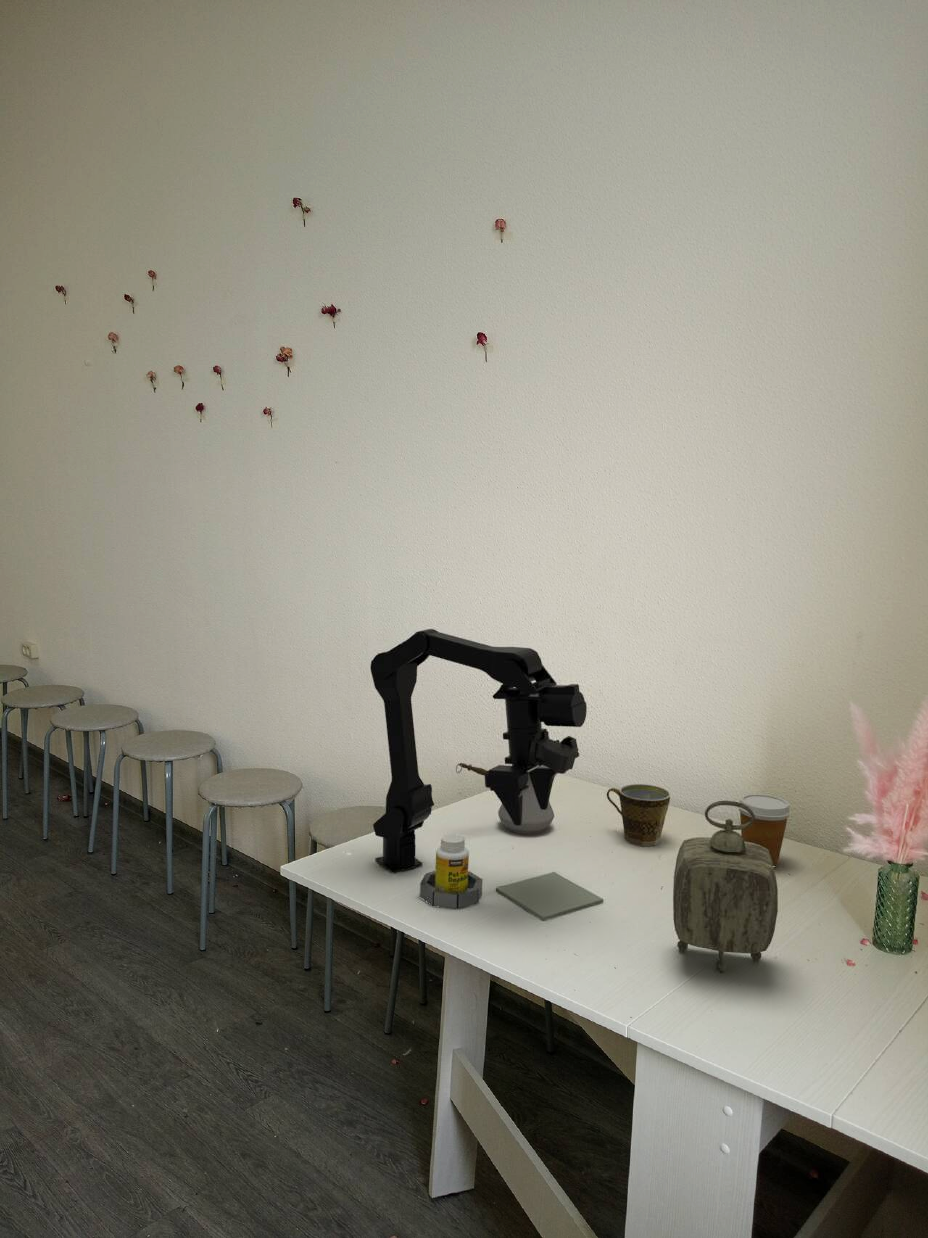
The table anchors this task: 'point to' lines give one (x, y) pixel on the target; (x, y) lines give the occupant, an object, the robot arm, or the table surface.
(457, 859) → the supplement bottle
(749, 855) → the tabletop clock
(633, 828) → the ceramic cup
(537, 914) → the mat
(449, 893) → the collar
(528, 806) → the grey turkish cezve
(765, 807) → the disposable coffee cup
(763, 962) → the table surface
